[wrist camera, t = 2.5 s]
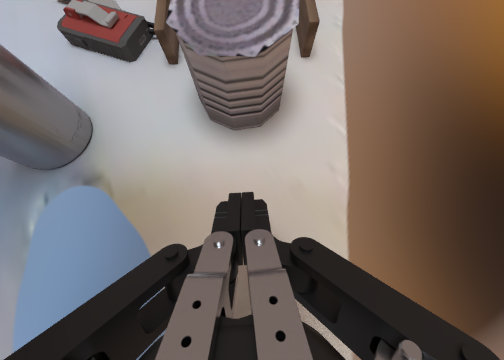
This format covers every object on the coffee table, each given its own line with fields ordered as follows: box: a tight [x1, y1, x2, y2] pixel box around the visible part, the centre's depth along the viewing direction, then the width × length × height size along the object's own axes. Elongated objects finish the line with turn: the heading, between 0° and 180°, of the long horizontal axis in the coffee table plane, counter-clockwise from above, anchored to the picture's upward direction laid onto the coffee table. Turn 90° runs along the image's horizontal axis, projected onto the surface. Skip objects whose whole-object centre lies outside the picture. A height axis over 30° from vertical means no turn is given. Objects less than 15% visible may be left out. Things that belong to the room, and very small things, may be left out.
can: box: [166, 0, 299, 130], centre depth 23 cm, size 11×11×12 cm
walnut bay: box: [154, 0, 319, 64], centre depth 31 cm, size 21×17×5 cm
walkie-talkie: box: [57, 0, 155, 62], centre depth 31 cm, size 9×4×20 cm
